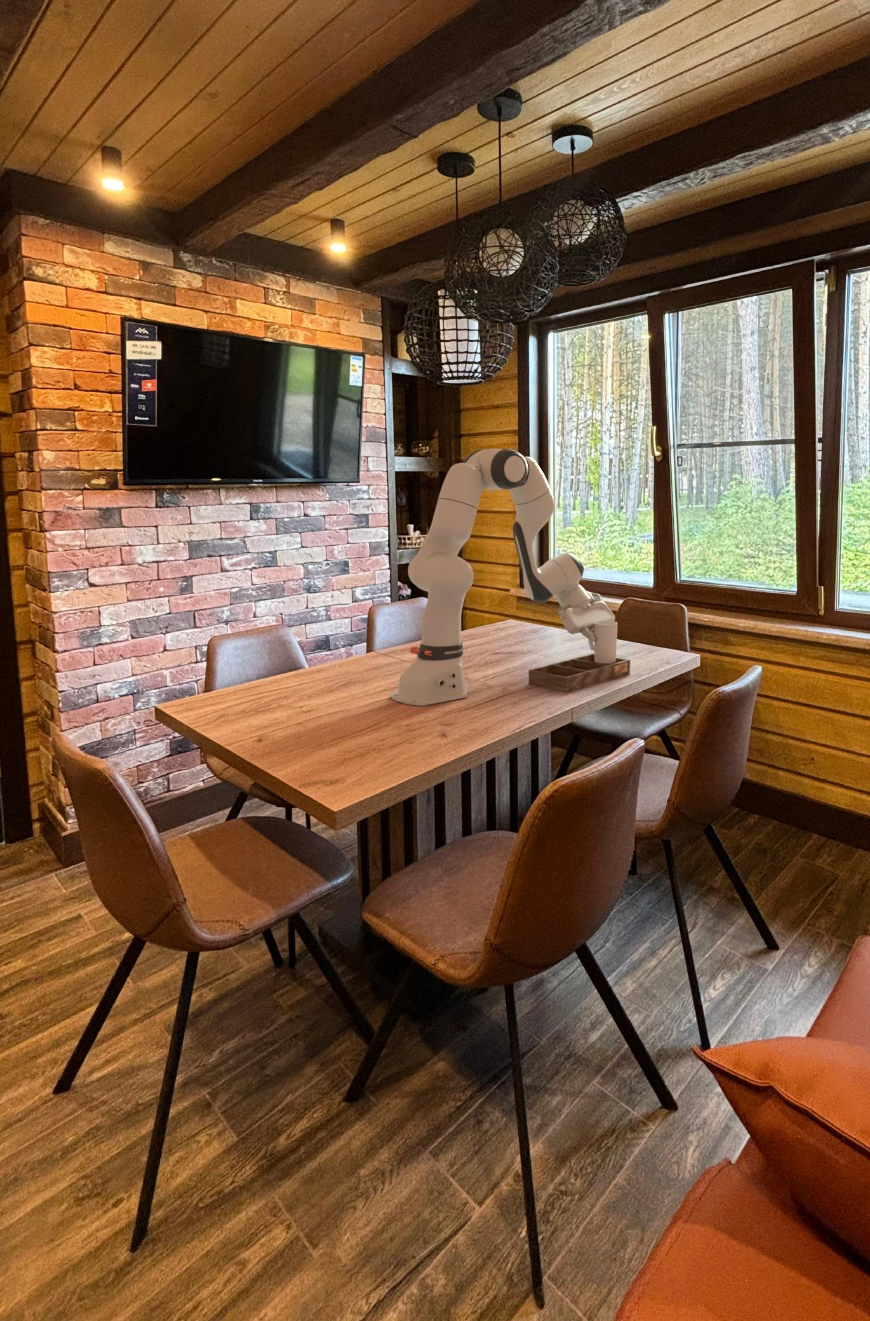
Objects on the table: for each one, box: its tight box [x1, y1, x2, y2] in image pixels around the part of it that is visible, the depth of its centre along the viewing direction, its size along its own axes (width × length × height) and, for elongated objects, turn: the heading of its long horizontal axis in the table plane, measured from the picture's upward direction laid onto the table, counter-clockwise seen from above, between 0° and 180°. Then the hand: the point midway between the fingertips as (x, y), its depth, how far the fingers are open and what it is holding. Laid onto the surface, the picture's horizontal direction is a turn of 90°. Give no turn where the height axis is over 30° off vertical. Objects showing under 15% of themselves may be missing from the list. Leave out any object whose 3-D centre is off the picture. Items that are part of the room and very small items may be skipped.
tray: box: [528, 653, 631, 693], centre depth 221 cm, size 30×15×4 cm, turn 131°
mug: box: [587, 620, 618, 664], centre depth 226 cm, size 10×7×12 cm, turn 38°
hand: (602, 639), depth 225 cm, fingers closed on mug, 6 cm apart
